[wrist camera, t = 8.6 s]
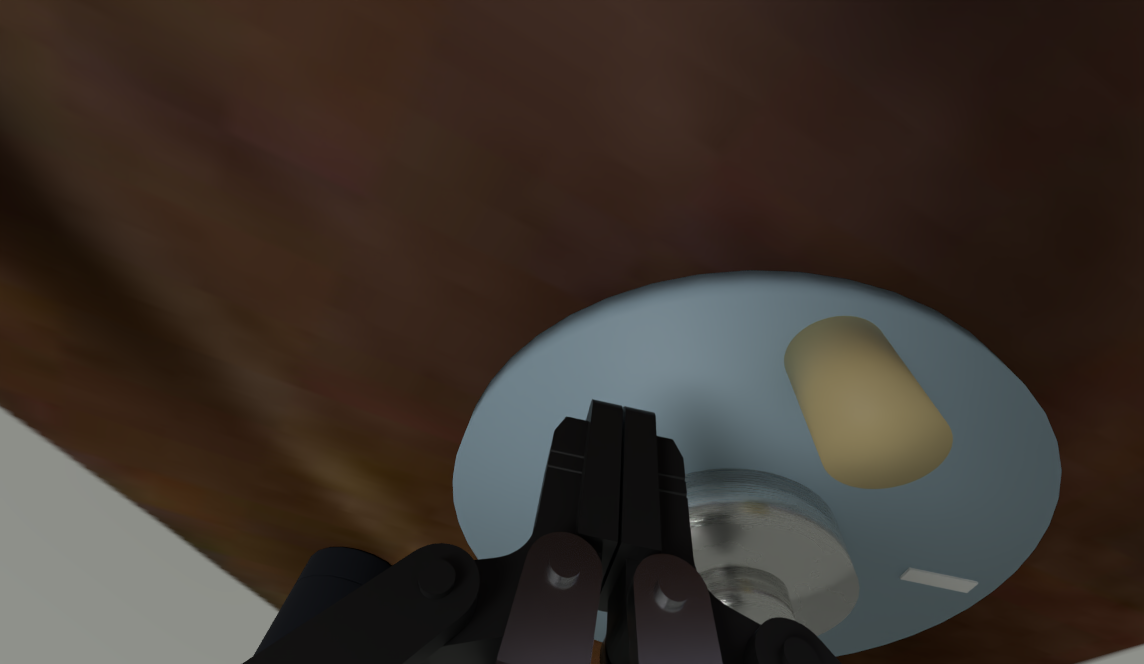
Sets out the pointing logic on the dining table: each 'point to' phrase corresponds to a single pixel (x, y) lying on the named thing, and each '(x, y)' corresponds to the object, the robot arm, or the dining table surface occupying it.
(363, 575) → the black bottle
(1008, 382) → the platter
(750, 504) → the cover
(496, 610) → the robot arm
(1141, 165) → the dining table surface
